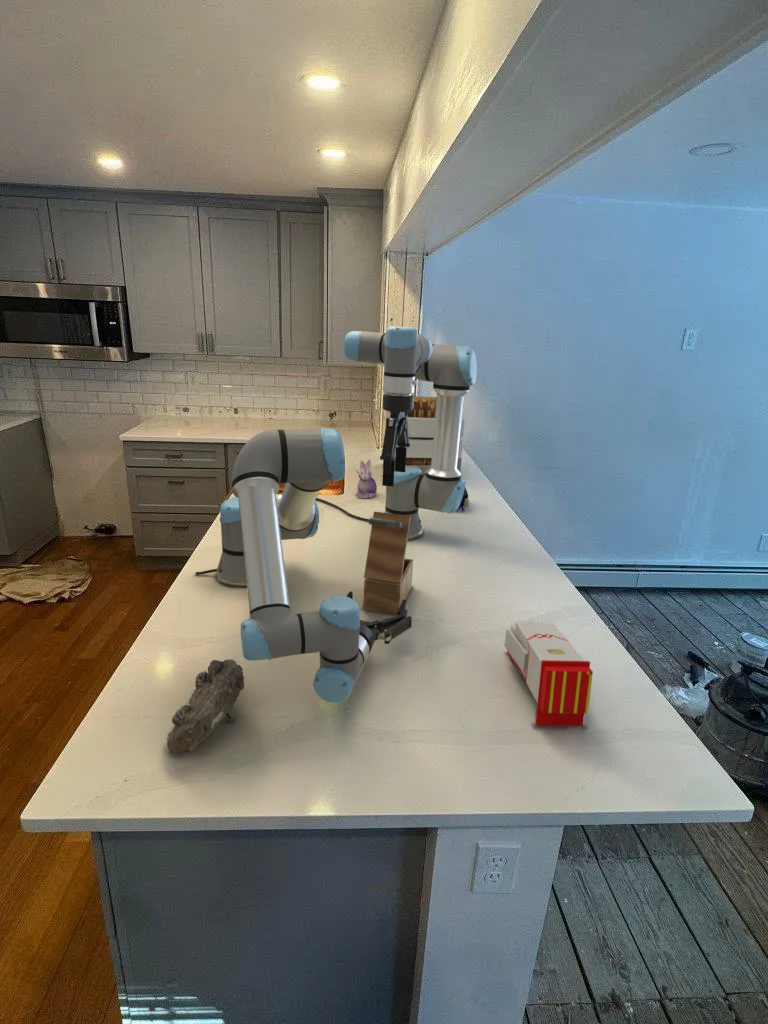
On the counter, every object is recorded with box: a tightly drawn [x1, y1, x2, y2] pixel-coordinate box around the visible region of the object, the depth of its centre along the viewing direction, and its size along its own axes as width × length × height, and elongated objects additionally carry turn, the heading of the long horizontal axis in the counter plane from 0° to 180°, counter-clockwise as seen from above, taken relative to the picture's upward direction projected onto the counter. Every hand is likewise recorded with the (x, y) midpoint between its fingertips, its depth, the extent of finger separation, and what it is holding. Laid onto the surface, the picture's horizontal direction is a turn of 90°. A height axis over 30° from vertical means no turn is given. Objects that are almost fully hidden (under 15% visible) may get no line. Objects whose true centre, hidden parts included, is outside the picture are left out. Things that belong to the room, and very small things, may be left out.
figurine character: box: [455, 486, 470, 512], centre depth 229 cm, size 7×8×15 cm
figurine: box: [356, 459, 378, 499], centre depth 236 cm, size 9×10×15 cm
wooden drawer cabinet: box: [385, 395, 465, 474], centre depth 268 cm, size 34×33×41 cm
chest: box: [362, 558, 414, 616], centre depth 154 cm, size 17×10×9 cm, turn 166°
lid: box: [363, 511, 411, 583], centre depth 142 cm, size 17×10×8 cm
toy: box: [503, 622, 594, 727], centre depth 121 cm, size 12×13×30 cm
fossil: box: [166, 658, 245, 754], centre depth 106 cm, size 22×10×15 cm
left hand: (377, 600), depth 140 cm, fingers open, 13 cm apart
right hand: (394, 478), depth 144 cm, fingers open, 13 cm apart
